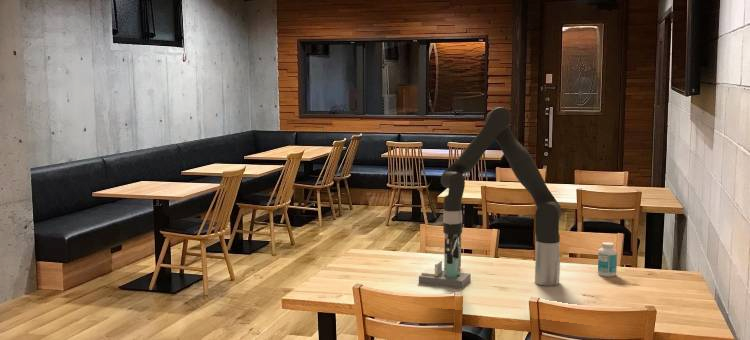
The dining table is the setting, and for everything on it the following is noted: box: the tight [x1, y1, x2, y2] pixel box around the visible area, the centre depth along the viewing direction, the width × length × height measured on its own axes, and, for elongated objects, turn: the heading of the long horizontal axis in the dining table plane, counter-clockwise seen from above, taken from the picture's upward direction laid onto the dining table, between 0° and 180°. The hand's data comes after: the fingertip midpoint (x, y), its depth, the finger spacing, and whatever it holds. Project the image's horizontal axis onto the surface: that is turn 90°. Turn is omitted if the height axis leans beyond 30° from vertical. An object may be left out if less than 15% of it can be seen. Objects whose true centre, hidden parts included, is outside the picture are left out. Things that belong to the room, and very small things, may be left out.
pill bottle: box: [597, 241, 618, 278], centre depth 310 cm, size 8×7×14 cm
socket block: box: [418, 270, 471, 290], centre depth 300 cm, size 18×12×3 cm, turn 67°
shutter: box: [421, 260, 443, 276], centre depth 302 cm, size 6×7×5 cm
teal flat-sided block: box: [445, 258, 459, 278], centre depth 299 cm, size 4×4×10 cm
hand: (452, 261), depth 297 cm, fingers open, 8 cm apart
